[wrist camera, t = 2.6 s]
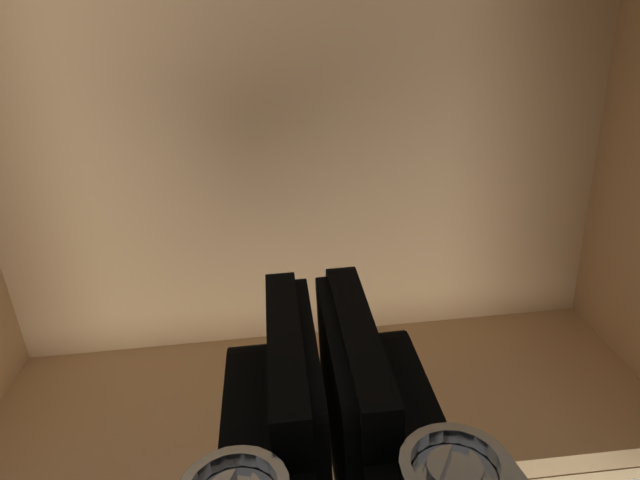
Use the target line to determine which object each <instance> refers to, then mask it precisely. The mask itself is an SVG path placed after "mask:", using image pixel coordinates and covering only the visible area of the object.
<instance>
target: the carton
mask: <svg viewBox="0 0 640 480" xmlns="http://www.w3.org/2000/svg"><path fill="white" fill-rule="evenodd" d="M354 266H355V268H356V270H357V273H358V276H359V279H360V281H361V284H362V287H363V290H364V293H365V296H366V299H367V301H368V304H369V307H370V310H371V313H372V316H373V319H374V321H375V324H376V327H377V330H378V333H379V332H389V331H400V330H405V331H407V333H408V334H409V336H410V338H411V341H412V343H413V345H414V348H415V350H416V352H417V355H418V357H419V359H420V361H421V364H422V366H423V368H424V371H425V373H426V375H427V377H428V380H429V382H430V384H431V387H432V389H433V391H434V393H435V396H436V398H437V400H438V403H439V405H440V407H441V409H442V412H443V414H444V416H445V419H446V421H447V422H451V423H460V424H465V425H468V426H471V427H474V428H477V429H480V430H482V431H484V432H485V433H487V434H489V435H490V436H492V437H494V438H495V439H496V440H497V441H498V442H499V443H500V444H501V445H502V446H503V447H504V448H505V449H506V450H507V451H508V453H509V454H510V455H511V457H512V458H513V459H514V461H515V462H516V463H517V465H518V466H519V467H520V469H521V470H522V471H523V473H524V474H525V475H526V477H527V478H528V479H529V480H630V479H638V478H640V0H0V480H180V479H181V477H182V475H183V473H184V472H185V471H186V470H187V469H188V468H189V467H190V466H191V465H192V464H193V463H194V462H195V461H197V460H198V459H200V458H201V457H203V456H205V455H206V454H208V453H210V452H212V451H215V450H218V440H219V429H220V418H221V407H222V396H223V386H224V375H225V364H226V353H227V349H228V347H238V346H248V345H258V344H267V340H266V290H265V274H276V273H287V272H294V274H295V279H305V278H306V279H307V285H308V291H309V297H310V304H311V310H312V316H313V322H314V328H315V334H316V340H317V346H318V352H319V358H320V350H319V334H318V318H317V302H316V286H315V278H316V277H326V269H332V268H343V267H354ZM332 474H333V480H334V473H333V467H332Z"/></svg>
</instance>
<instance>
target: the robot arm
mask: <svg viewBox="0 0 640 480" xmlns="http://www.w3.org/2000/svg"><path fill="white" fill-rule="evenodd" d="M315 286H316V302H317V318H318V334H319V350H320V358H319V352H318V346H317V340H316V334H315V328H314V322H313V316H312V310H311V304H310V297H309V291H308V285H307V279H306V278H305V279H295V274H294V272H287V273H276V274H265V290H266V340H267V344H258V345H248V346H238V347H228V349H227V353H226V364H225V375H224V386H223V396H222V407H221V418H220V429H219V440H218V450H215V451H212V452H210V453H208V454H206V455H205V456H203V457H201V458H200V459H198V460H197V461H195V462H194V463H193V464H192V465H191V466H190V467H189V468H188V469H187V470H186V471H185V472H184V473H183V475H182V477H181V479H180V480H333V474H332V467H333V473H334V480H529V479H528V478H527V477H526V475H525V474H524V473H523V471H522V470H521V469H520V467H519V466H518V465H517V463H516V462H515V461H514V459H513V458H512V457H511V455H510V454H509V453H508V451H507V450H506V449H505V448H504V447H503V446H502V445H501V444H500V443H499V442H498V441H497V440H496V439H495V438H494V437H492V436H490V435H489V434H487V433H485V432H484V431H482V430H480V429H477V428H474V427H471V426H468V425H465V424H460V423H451V422H447V421H446V419H445V416H444V414H443V412H442V409H441V407H440V405H439V403H438V400H437V398H436V396H435V393H434V391H433V389H432V387H431V384H430V382H429V380H428V377H427V375H426V373H425V371H424V368H423V366H422V364H421V361H420V359H419V357H418V355H417V352H416V350H415V348H414V345H413V343H412V341H411V338H410V336H409V334H408V333H407V331H405V330H400V331H389V332H379V333H378V330H377V327H376V324H375V321H374V319H373V316H372V313H371V310H370V307H369V304H368V301H367V299H366V296H365V293H364V290H363V287H362V284H361V281H360V279H359V276H358V273H357V270H356V268H355V266H354V267H343V268H332V269H326V277H316V278H315Z"/></svg>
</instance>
